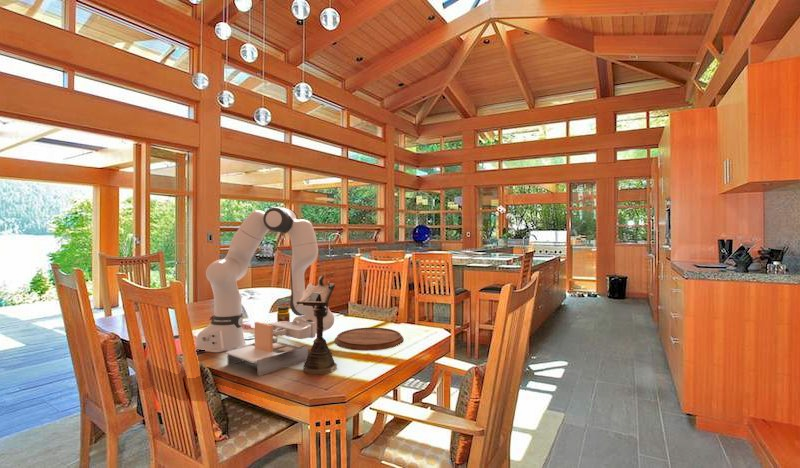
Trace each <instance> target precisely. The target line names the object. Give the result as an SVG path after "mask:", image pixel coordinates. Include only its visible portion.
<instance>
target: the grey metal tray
mask: <svg viewBox="0 0 800 468" xmlns="http://www.w3.org/2000/svg"><path fill="white" fill-rule="evenodd" d="M251 345H252V346H255V342H252V343H248V344H246V345H244V346H240V347H237V348H233V349H229V350H226V352H228V351H232V350H236V349H240V348H244V347H247V346H251ZM273 352H276V353H278V354H275V355H271V356H268V357H265V358H261V359H258V360H257V362H256V363H257V367H256V368H257V370H256V371H257V372H256V373H257V376H258V377H261V376H264V375H266V374H269V373H272V372H275V371H276V372H277V371H279V370H281V369H284V368H287V367H291V366H293V365H296V364H299V363H302V362H306V360H307V356H308V353H309V346H308V345H307V344H305V345H302V346H295V345H292V344H288V343H285V342H280V341H278V337H277V336H274V337H273ZM226 357H227V361H226V364H227V365H228V366H230V365H233V364H237V363H241V362H244V361H245V360H243V359H240V358H237V357H234V356H231V355H228V354H226Z"/></svg>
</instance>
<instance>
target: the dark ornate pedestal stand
mask: <svg viewBox="0 0 800 468" xmlns="http://www.w3.org/2000/svg"><path fill="white" fill-rule="evenodd" d="M324 278H325V275H324V274H323V275H320V276H319V277H318V284H317V285H314V283H313V282H309V283H308V284H307V286H306V287H305V292H304V294H303V296H302V298H301V300H300V301H297V302H296V303H297V305H299V304H303V306H315V308H313V311H314V316H315V317H316V318H317V327H316V329H317V334H316V338H315V339H314V340H313V344H312V346H311V349H310V350H308V356H307V360H306V361H304V364H303V370H304V371H305V373H306V374H310V375H325V374H329V373H332V372H334V371H335V370H337V368H338V363H337V362H335V360H334V358H333V355H332V354H333V353H332V352H331V349H330V348H329V346H328V344H327V339H325V338H324V336H323V335H324V334H323V333H324V332H323V329H324V328H323V317H324V316H325V315H326V310H327V308H325V306H326V307H328V308H329V300H330V298H331V295H332V293H333V291H334V289H335V288H336V284H335V283H330V280H328V281H327V283H326V285H324V281H323V280H324ZM309 297H310V298H309ZM308 298H309V300H308V301H306V302H305V300H307V299H308ZM297 305H296V306H297ZM296 306H295V307H296Z"/></svg>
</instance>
